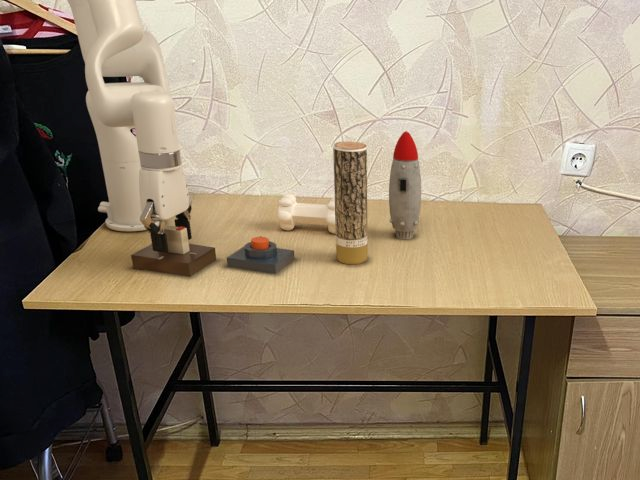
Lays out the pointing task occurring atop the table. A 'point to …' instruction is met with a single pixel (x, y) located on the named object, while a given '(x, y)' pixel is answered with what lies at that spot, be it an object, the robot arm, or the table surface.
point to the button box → (261, 258)
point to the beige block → (177, 239)
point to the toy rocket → (405, 187)
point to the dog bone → (305, 213)
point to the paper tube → (350, 201)
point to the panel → (174, 260)
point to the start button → (260, 243)
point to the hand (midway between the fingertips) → (172, 244)
